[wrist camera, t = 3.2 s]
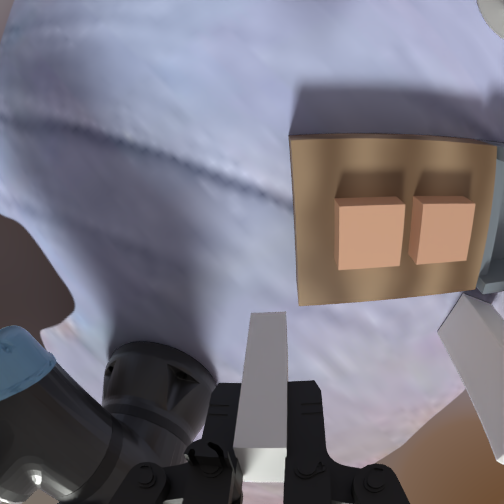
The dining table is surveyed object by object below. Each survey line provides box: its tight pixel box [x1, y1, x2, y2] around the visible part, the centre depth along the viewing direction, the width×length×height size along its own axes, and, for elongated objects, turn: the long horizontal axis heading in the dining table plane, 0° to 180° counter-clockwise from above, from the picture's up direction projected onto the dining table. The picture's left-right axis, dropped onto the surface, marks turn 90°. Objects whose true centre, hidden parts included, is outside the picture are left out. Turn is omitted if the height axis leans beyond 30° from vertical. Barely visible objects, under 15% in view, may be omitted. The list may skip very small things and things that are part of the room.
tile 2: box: [334, 196, 405, 270], centre depth 23 cm, size 5×5×2 cm
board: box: [289, 133, 497, 306], centre depth 26 cm, size 18×14×4 cm
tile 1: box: [408, 196, 475, 265], centre depth 23 cm, size 5×5×2 cm
